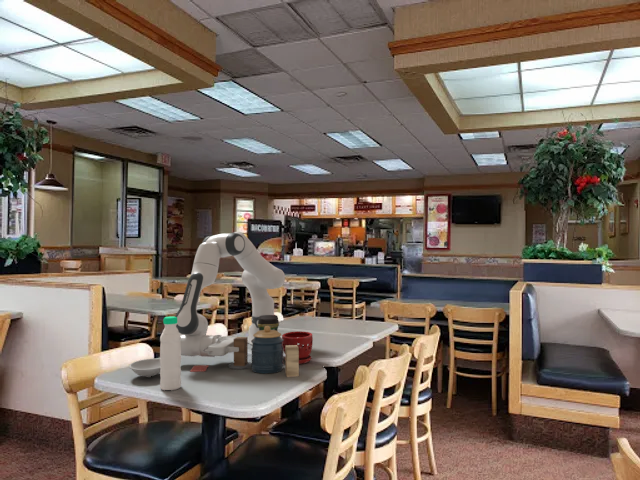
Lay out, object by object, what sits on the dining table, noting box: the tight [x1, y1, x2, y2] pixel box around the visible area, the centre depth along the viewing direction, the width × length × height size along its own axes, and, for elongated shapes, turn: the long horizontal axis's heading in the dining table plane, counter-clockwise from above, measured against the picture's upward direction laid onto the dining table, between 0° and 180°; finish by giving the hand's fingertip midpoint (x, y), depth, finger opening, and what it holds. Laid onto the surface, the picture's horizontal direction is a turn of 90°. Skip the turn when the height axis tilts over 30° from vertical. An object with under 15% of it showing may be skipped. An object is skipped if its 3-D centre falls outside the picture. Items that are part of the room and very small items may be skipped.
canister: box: [250, 326, 285, 374], centre depth 193 cm, size 13×13×18 cm
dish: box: [128, 358, 161, 378], centre depth 184 cm, size 18×14×5 cm
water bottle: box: [159, 315, 182, 391], centre depth 169 cm, size 7×7×25 cm
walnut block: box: [233, 336, 249, 366], centre depth 199 cm, size 4×4×11 cm
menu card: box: [189, 364, 210, 373], centre depth 195 cm, size 9×6×1 cm, turn 4°
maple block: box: [284, 344, 300, 378], centre depth 185 cm, size 4×4×11 cm
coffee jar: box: [258, 314, 280, 332], centre depth 217 cm, size 10×8×19 cm
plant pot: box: [281, 331, 314, 365], centre depth 206 cm, size 13×13×12 cm
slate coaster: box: [228, 361, 252, 370], centre depth 199 cm, size 10×10×1 cm
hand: (242, 346), depth 199 cm, fingers open, 8 cm apart
